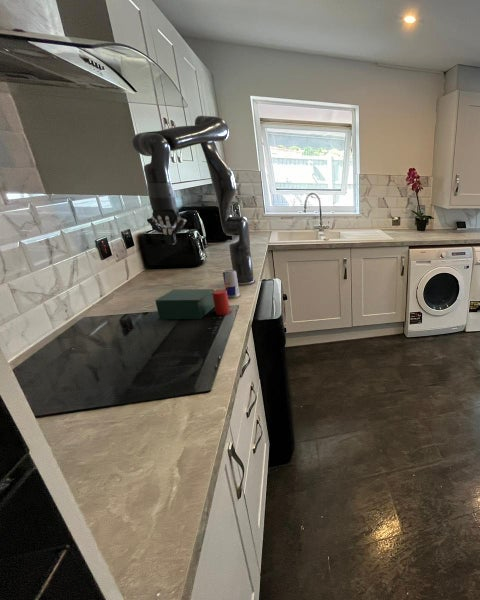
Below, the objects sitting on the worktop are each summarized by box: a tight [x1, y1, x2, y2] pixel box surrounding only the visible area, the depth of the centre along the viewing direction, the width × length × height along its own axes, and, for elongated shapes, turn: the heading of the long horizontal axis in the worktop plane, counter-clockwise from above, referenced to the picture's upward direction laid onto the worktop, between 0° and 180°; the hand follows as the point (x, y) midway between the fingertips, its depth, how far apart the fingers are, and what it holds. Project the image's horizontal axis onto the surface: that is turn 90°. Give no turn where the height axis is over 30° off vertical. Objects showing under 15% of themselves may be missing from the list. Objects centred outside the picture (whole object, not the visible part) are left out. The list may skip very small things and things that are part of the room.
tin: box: [212, 289, 231, 316], centre depth 128 cm, size 5×5×9 cm
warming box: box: [155, 293, 215, 320], centre depth 127 cm, size 15×13×7 cm
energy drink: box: [222, 269, 240, 299], centre depth 145 cm, size 5×5×12 cm
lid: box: [154, 288, 215, 303], centre depth 126 cm, size 16×13×1 cm
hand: (172, 244), depth 120 cm, fingers closed
